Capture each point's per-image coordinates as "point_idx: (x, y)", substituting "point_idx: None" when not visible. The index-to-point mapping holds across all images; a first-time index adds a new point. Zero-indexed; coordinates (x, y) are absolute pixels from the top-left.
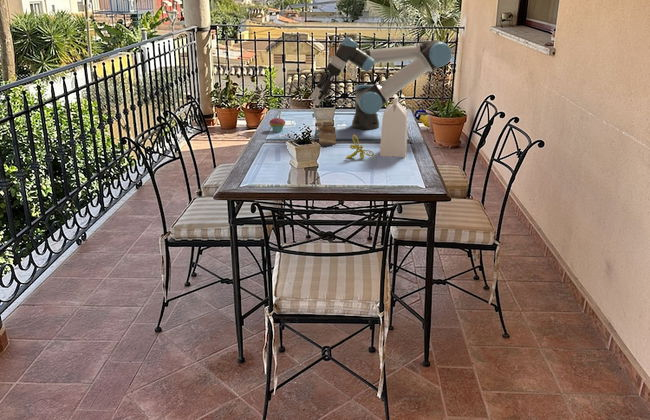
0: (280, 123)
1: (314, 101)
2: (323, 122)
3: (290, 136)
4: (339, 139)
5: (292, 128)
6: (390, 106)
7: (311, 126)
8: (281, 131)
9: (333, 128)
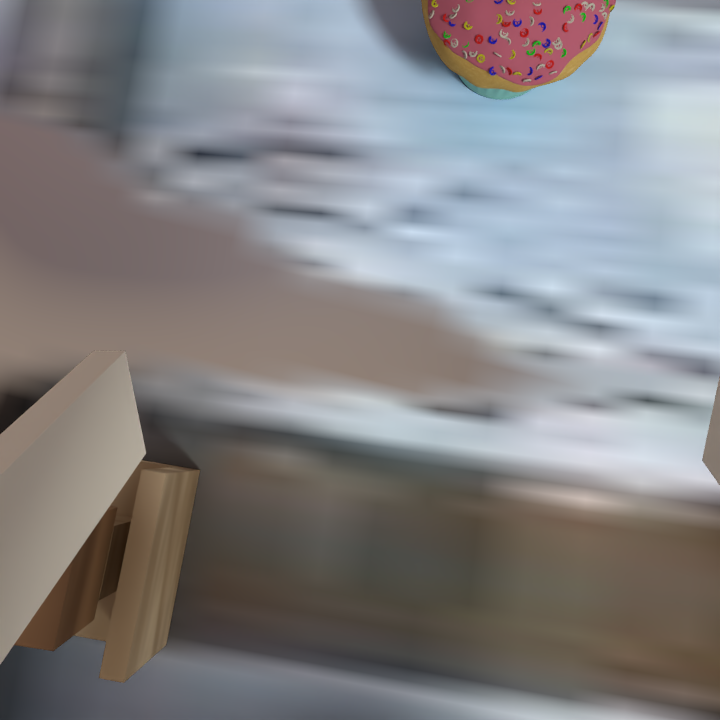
0: (429, 19)
1: (72, 375)
2: None
3: (247, 166)
4: (24, 667)
5: (619, 217)
6: None
7: None
8: (477, 93)
9: (110, 647)
